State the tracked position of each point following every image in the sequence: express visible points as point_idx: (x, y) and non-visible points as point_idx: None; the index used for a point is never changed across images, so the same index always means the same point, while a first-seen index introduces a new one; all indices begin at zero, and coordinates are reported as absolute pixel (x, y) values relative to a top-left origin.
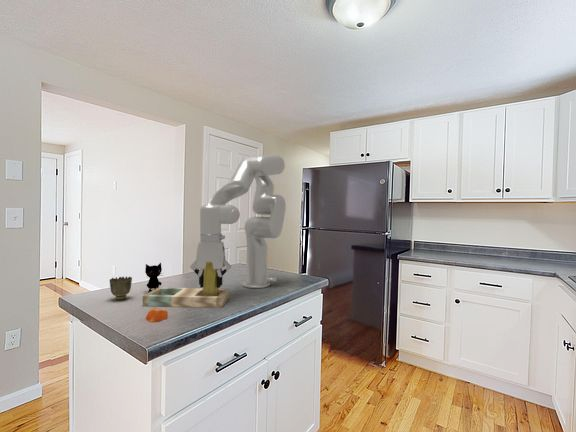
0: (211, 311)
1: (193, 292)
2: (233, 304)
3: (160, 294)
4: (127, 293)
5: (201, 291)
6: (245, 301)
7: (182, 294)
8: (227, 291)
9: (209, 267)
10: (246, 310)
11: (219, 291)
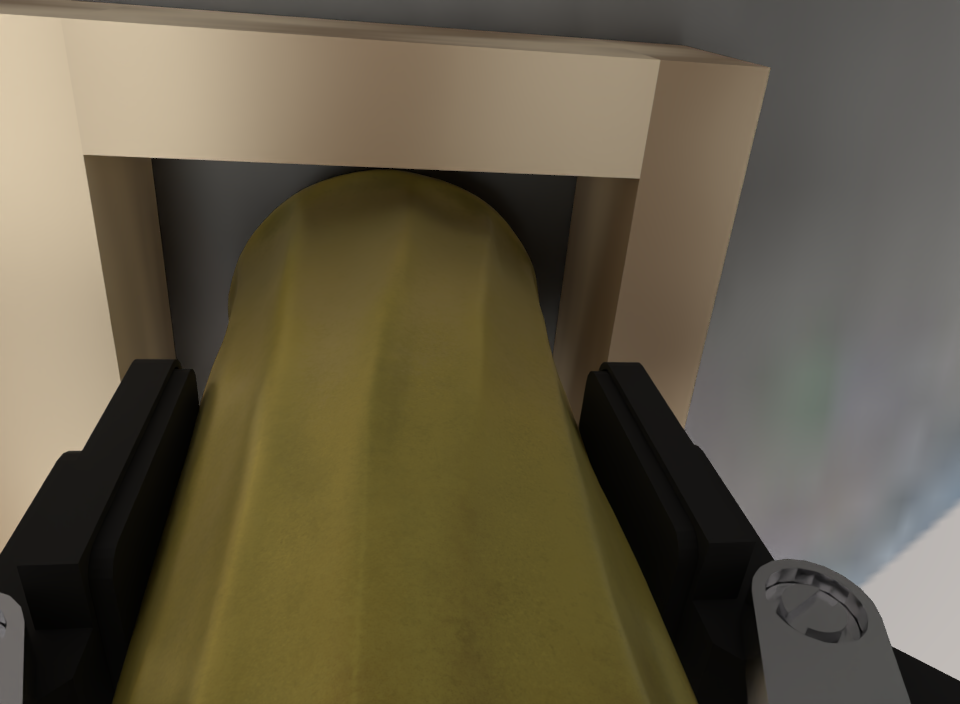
0: None
1: (7, 405)
2: (747, 386)
3: None
4: None
5: (100, 176)
6: (934, 242)
7: None
8: (722, 244)
9: None
10: (876, 561)
11: (538, 166)
